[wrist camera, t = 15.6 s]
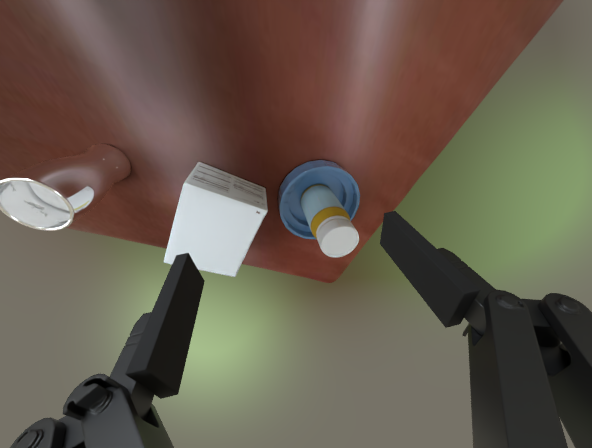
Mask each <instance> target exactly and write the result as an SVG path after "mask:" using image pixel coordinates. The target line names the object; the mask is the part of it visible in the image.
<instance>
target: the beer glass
mask: <svg viewBox="0 0 592 448" xmlns="http://www.w3.org/2000/svg"><path fill="white" fill-rule="evenodd" d="M130 172H131V164H130V161H129V160H128V158H127V157H126V155H125V154H124V153H123V152H121V151H120V150H119V149H117V148H115V147H113V146H111V145H107V144H95V145H92V146H91V147H89V148H88V149H87V150H86V151H85V152H84V153H82V154H79V155H73V156H67V157H60V158H55V159H51V160H46V161H43V162H40V163H37V164H34V165H32V166H30V167H27V168H25V169H23V170H21V171H19V172H17V173H15V174H13V175H11V176H10V177H8V178H6V179H3V180H1V181H0V210H1V211H2V212H3V213H4V214H6V215H7V216H8V217H10V218H11V219H13V220H15V221H16V222H18V223H20V224H23V225H25V226H28V227H31V228H34V229H39V230H47V231H54V230H60V229H64V228H66V227H68V226H69V225H70V224H71V223H73V222H75V221H76V220H78V219H79V218H81V217H82V216H84V215H85V214H87V213H88V212H89V211H91V210H92V209H93V208H94V207H95V206H97V205H98V204H99V203H100V201H101V200H102V199H103V198H104V197H105V195H106V194H107V192H108V191H109V189H110V188H111V186H112V185H113V184H114V183H115V182H118V181H120V180H123V179H125V178H126V177H128V176H129V174H130Z"/></svg>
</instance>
